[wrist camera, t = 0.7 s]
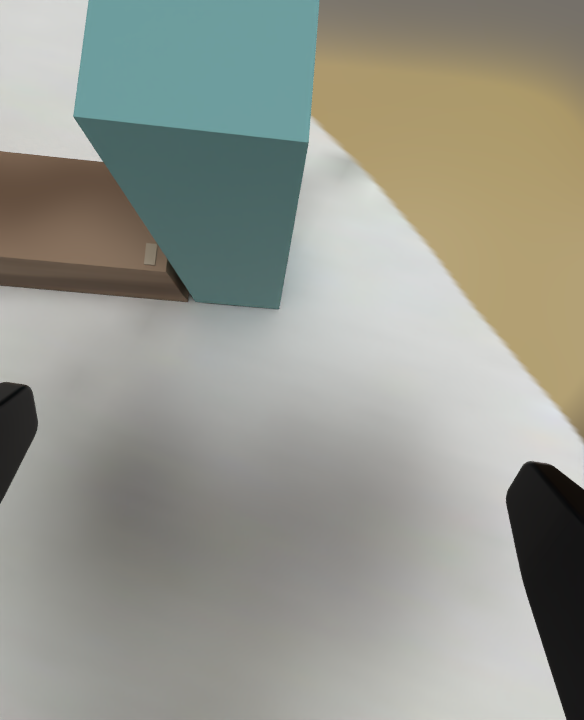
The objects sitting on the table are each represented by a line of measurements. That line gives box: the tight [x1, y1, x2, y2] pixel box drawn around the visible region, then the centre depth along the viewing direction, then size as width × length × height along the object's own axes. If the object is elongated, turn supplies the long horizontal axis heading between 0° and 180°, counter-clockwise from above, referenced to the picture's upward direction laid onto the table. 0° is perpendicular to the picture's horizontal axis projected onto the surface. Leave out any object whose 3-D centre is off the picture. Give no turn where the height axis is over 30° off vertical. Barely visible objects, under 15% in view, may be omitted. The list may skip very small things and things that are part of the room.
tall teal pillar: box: [73, 0, 319, 309], centre depth 15 cm, size 4×4×14 cm
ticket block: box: [0, 151, 189, 302], centre depth 19 cm, size 4×14×5 cm, turn 86°
